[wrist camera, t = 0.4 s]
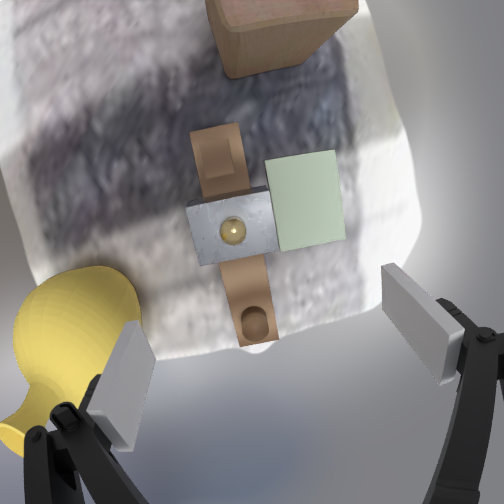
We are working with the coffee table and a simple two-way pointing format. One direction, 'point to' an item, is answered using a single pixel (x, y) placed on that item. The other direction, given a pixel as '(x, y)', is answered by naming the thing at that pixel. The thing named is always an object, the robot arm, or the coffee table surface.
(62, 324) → the vase
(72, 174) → the coffee table surface
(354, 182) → the coffee table surface
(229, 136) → the body
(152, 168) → the coffee table surface
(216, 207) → the lever cap
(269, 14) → the wooden block
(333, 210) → the felt mat
